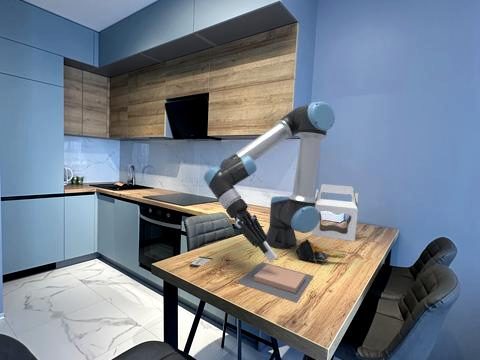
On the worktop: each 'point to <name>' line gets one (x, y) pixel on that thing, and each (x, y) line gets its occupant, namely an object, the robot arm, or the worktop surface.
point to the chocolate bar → (200, 261)
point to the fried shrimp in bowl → (314, 252)
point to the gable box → (338, 208)
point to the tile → (280, 278)
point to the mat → (249, 282)
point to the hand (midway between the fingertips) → (273, 259)
